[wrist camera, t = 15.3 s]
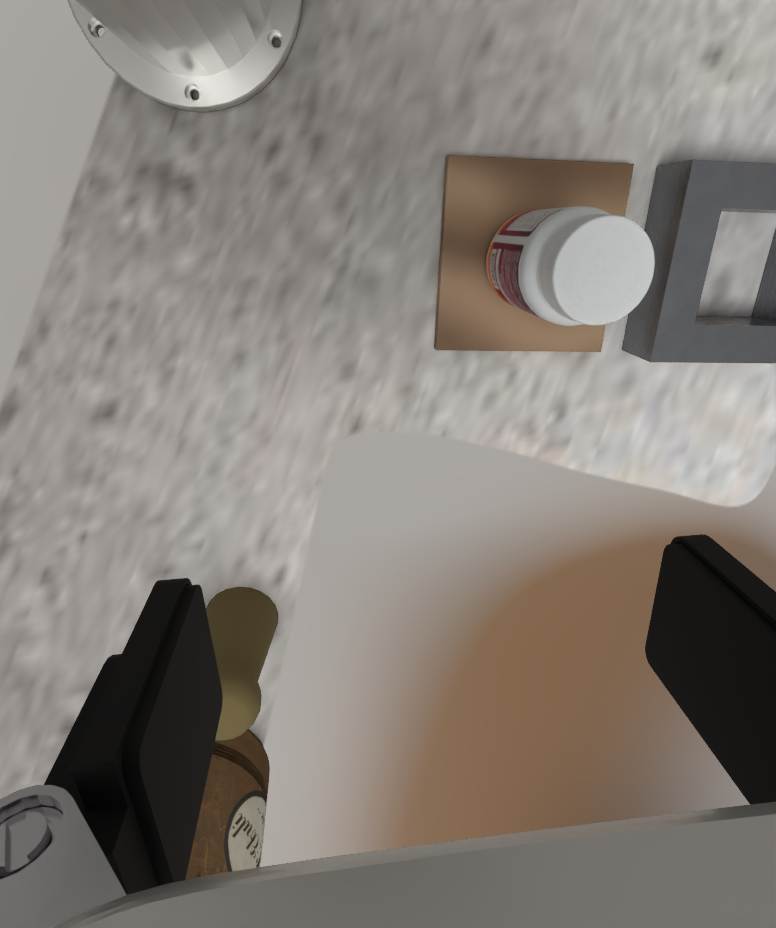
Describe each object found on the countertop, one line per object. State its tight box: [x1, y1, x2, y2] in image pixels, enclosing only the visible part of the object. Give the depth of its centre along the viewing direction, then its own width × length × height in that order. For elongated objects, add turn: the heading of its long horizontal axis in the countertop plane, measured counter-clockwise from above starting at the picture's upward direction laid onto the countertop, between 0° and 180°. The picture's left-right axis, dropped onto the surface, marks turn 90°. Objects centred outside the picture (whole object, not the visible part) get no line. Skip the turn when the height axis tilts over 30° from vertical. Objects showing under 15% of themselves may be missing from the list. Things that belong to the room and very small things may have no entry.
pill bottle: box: [486, 206, 655, 326], centre depth 32 cm, size 6×6×11 cm
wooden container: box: [185, 730, 269, 880], centre depth 44 cm, size 15×15×22 cm
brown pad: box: [434, 155, 634, 352], centre depth 38 cm, size 12×12×1 cm
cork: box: [206, 587, 278, 741], centre depth 43 cm, size 6×6×11 cm
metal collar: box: [622, 160, 776, 363], centre depth 38 cm, size 12×12×4 cm
